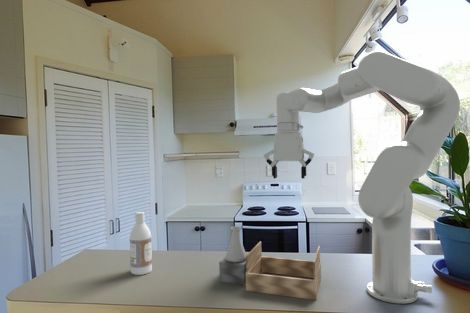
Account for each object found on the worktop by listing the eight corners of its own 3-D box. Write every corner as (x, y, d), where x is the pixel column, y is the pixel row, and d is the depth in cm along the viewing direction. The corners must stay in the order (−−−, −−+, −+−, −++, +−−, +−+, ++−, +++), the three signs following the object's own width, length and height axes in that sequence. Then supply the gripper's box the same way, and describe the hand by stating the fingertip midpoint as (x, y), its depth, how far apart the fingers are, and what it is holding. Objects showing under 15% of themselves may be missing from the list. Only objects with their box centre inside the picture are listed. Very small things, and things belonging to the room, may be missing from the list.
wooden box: (321, 277, 101) (320, 245, 100) (316, 299, 86) (315, 262, 86) (260, 270, 107) (259, 240, 107) (245, 290, 92) (245, 255, 92)
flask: (245, 263, 97) (245, 230, 97) (222, 262, 99) (221, 230, 98) (249, 255, 104) (248, 225, 104) (227, 254, 106) (226, 224, 106)
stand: (252, 274, 104) (251, 256, 104) (244, 284, 97) (244, 264, 96) (228, 271, 107) (228, 253, 107) (219, 281, 99) (219, 262, 99)
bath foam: (143, 276, 104) (141, 215, 104) (126, 273, 107) (124, 213, 107) (156, 269, 111) (154, 211, 110) (140, 266, 113) (138, 210, 113)
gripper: (314, 128, 112) (315, 177, 113) (266, 130, 118) (267, 177, 118) (312, 126, 105) (313, 179, 106) (260, 129, 111) (262, 179, 111)
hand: (289, 178), depth 112 cm, fingers open, 9 cm apart
